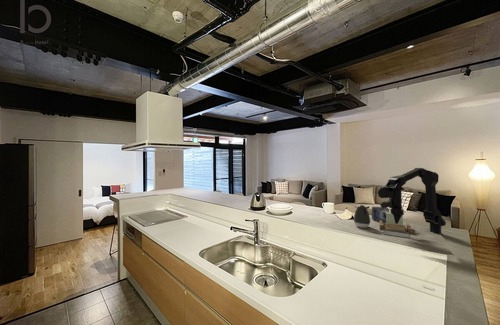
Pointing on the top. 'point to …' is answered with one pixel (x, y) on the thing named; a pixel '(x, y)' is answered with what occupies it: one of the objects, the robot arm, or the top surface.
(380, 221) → the walnut rack
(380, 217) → the small box
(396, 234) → the grey mat
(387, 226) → the offcut bundle
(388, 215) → the pale green block
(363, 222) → the dark grey egg figure
